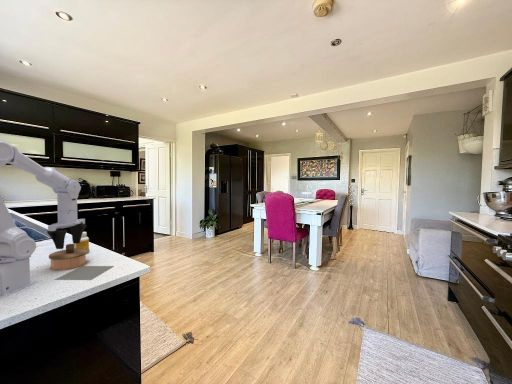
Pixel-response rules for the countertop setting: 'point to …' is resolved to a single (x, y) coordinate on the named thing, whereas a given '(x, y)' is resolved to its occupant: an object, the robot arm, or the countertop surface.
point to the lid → (69, 253)
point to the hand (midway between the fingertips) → (68, 245)
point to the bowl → (68, 263)
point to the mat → (85, 273)
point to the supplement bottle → (83, 242)
